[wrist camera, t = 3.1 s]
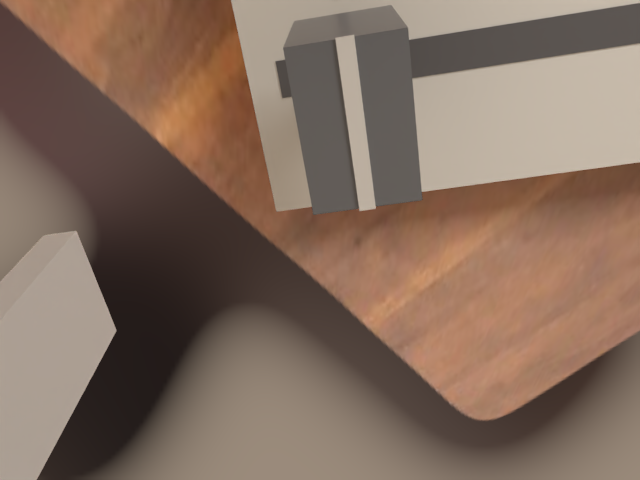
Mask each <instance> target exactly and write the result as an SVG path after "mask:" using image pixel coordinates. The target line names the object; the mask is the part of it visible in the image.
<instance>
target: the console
mask: <svg viewBox="0 0 640 480" xmlns="http://www.w3.org/2000/svg"><path fill="white" fill-rule="evenodd" d="M231 2H232V7H233V12H234V16H235V21H236V26H237V30H238V35H239V40H240V44H241V49H242V54H243V58H244V63H245V67H246V72H247V77H248V81H249V86H250V91H251V95H252V100H253V105H254V109H255V114H256V119H257V123H258V128H259V133H260V137H261V142H262V147H263V151H264V156H265V161H266V165H267V170H268V175H269V179H270V184H271V189H272V193H273V198H274V203H275V207H276V212H278V211H285V210H293V209H300V208H307V207H312V205H311V199H310V194H309V188H308V183H307V177H306V172H305V166H304V161H303V155H302V150H301V144H300V139H299V133H298V128H297V122H296V117H295V111H294V106H293V100H292V95H291V89H290V84H289V78H288V73H287V67H286V62H285V56H284V51H283V47H284V44H285V42H286V39H287V37H288V34H289V32H290V30H291V27H292V25H293V22H294V21H297V20H303V19H309V18H315V17H321V16H327V15H333V14H339V13H345V12H351V11H357V10H363V9H369V8H375V7H381V6H387V5H392V6H393V8H394V9H395V11H396V12H397V13H398V15H399V16H400V17H401V19H402V20H403V21H404V23H405V24H406V25H407V27H408V33H409V45H410V57H411V69H412V81H413V93H414V105H415V117H416V129H417V141H418V153H419V165H420V177H421V189H422V192H425V191H432V190H440V189H447V188H454V187H462V186H469V185H476V184H484V183H491V182H498V181H506V180H513V179H520V178H528V177H535V176H543V175H550V174H557V173H565V172H572V171H579V170H587V169H594V168H601V167H609V166H616V165H623V164H631V163H638V162H640V0H231Z"/></svg>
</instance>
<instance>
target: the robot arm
mask: <svg viewBox="0 0 640 480" xmlns="http://www.w3.org/2000/svg"><path fill="white" fill-rule="evenodd" d="M115 332H116V328H115V326H114V323H113V321H112V318H111V316H110V313H109V311H108V308H107V306H106V303H105V301H104V298H103V296H102V294H101V291H100V288H99V286H98V283H97V281H96V278H95V276H94V274H93V271H92V269H91V266H90V264H89V261H88V259H87V256H86V254H85V251H84V249H83V247H82V244H81V241H80V239H79V236H78V234H77V231H71V232H64V233H57V234H50V235H44V236H42V238H41V239H40V240H39V241H38V242H37V243H36V244H35V245H34V246H33V247H32V248H31V249H30V250H29V251H28V253H27V254H26V255H25V256H24V257H23V258H22V259H21V260H20V261H19V262H18V263H17V264H16V265H15V266H14V268H13V269H12V270H11V271H10V272H9V273H8V274H7V275H6V276H5V277H4V278H3V279H2V280H1V281H0V480H37V478H38V476H39V474H40V472H41V470H42V468H43V467H44V465H45V463H46V461H47V459H48V457H49V455H50V454H51V452H52V450H53V448H54V446H55V444H56V442H57V441H58V439H59V437H60V435H61V433H62V431H63V429H64V427H65V426H66V424H67V422H68V420H69V418H70V416H71V415H72V413H73V411H74V409H75V407H76V405H77V403H78V401H79V400H80V398H81V396H82V394H83V392H84V390H85V388H86V386H87V384H88V383H89V381H90V379H91V377H92V375H93V373H94V372H95V370H96V368H97V366H98V364H99V362H100V360H101V359H102V357H103V355H104V353H105V351H106V349H107V347H108V346H109V344H110V342H111V340H112V338H113V336H114V334H115Z"/></svg>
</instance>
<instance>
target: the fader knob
mask: <svg viewBox="0 0 640 480" xmlns="http://www.w3.org/2000/svg"><path fill="white" fill-rule="evenodd" d="M283 51H284V56H285V62H286V67H287V73H288V78H289V84H290V89H291V95H292V100H293V106H294V111H295V117H296V122H297V128H298V133H299V139H300V144H301V150H302V155H303V161H304V166H305V172H306V177H307V183H308V188H309V194H310V199H311V205H312V210H313V215H316V214H323V213H331V212H338V211H345V210H353V209H359V211H364V210H371V209H376V206H383V205H390V204H397V203H405V202H412V201H420V200H422V189H421V177H420V165H419V153H418V141H417V129H416V117H415V105H414V93H413V81H412V69H411V57H410V45H409V33H408V27H407V25H406V24H405V23H404V21H403V20H402V19H401V17H400V16H399V15H398V13H397V12H396V11H395V9H394V8H393V6H392V5H387V6H381V7H375V8H369V9H363V10H357V11H351V12H345V13H339V14H333V15H327V16H321V17H315V18H309V19H303V20H297V21H294V22H293V25H292V27H291V30H290V32H289V34H288V37H287V39H286V42H285V44H284V47H283Z"/></svg>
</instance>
